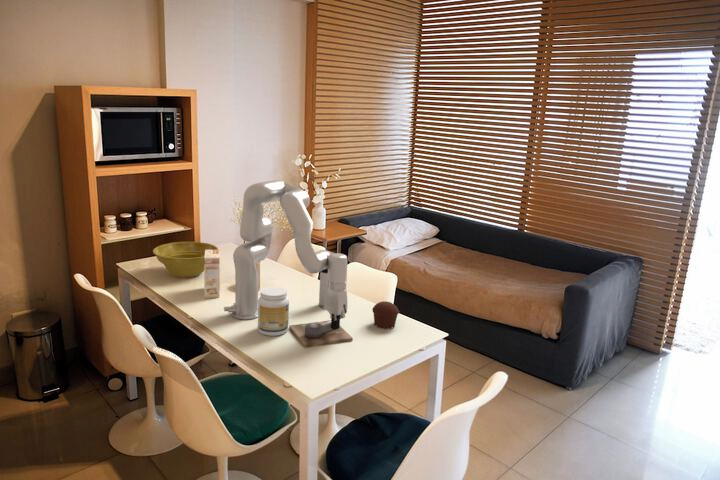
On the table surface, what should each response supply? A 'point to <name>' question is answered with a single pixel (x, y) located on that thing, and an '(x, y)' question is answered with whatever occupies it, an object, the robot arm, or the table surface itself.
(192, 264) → the planter bowl
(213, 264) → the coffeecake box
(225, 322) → the table surface
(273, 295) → the supplement tub
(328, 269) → the robot arm
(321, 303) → the travel mug
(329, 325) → the grey knobbed bar
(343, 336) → the board
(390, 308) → the muffin
